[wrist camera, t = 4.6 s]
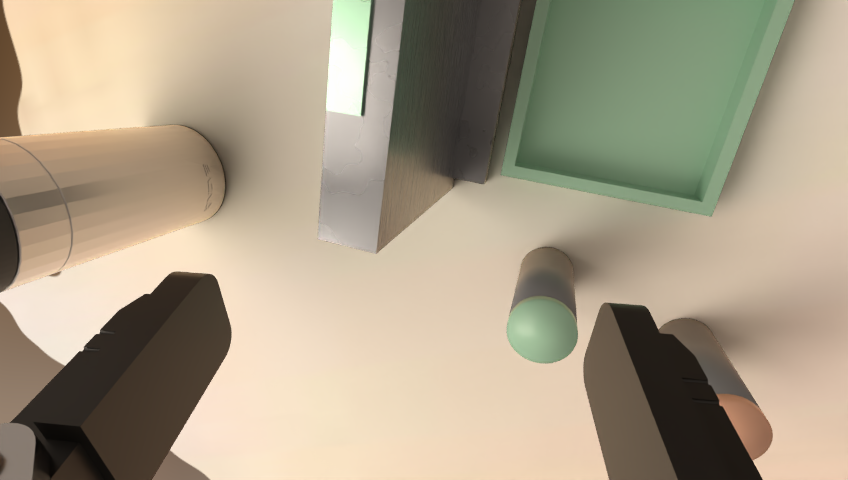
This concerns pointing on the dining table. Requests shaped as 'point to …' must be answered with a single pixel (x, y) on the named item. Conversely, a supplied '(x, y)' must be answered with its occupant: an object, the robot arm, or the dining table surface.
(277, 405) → the dining table surface
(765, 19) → the green tray
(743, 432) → the terracotta-capped canister
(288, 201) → the dining table surface
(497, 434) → the dining table surface
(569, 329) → the green-capped canister
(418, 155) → the label unit
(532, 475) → the dining table surface
